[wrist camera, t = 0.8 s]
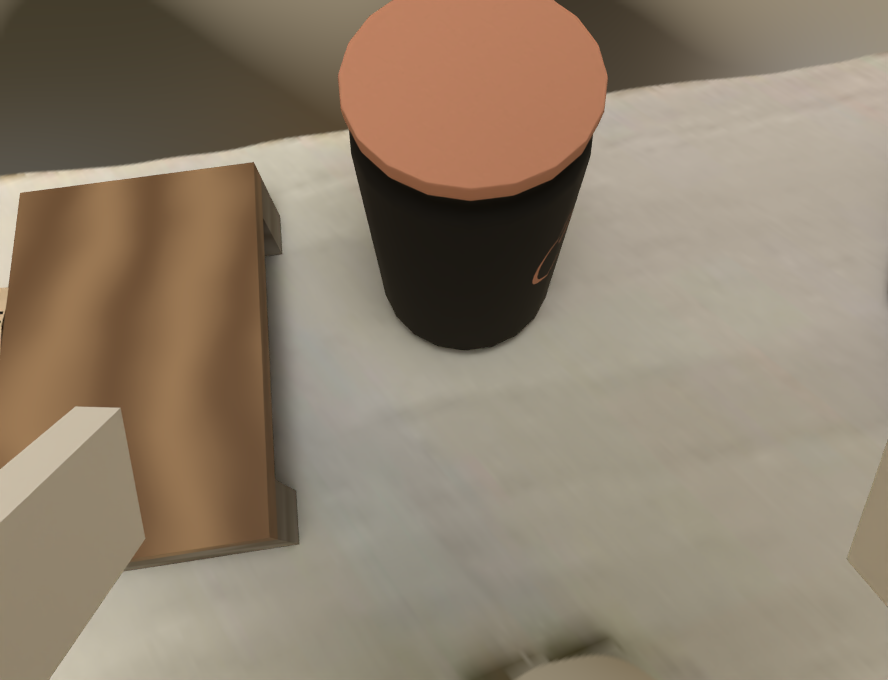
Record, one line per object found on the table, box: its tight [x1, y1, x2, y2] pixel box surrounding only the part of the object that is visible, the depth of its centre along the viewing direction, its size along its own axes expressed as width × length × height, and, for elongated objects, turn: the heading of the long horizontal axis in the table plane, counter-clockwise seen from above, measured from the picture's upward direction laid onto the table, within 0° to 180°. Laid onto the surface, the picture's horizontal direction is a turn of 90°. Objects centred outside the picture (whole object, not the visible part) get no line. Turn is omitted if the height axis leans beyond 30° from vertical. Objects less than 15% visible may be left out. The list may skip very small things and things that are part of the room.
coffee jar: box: [338, 0, 608, 350], centre depth 32 cm, size 11×11×18 cm
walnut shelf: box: [0, 162, 299, 571], centre depth 36 cm, size 14×22×6 cm, turn 8°
